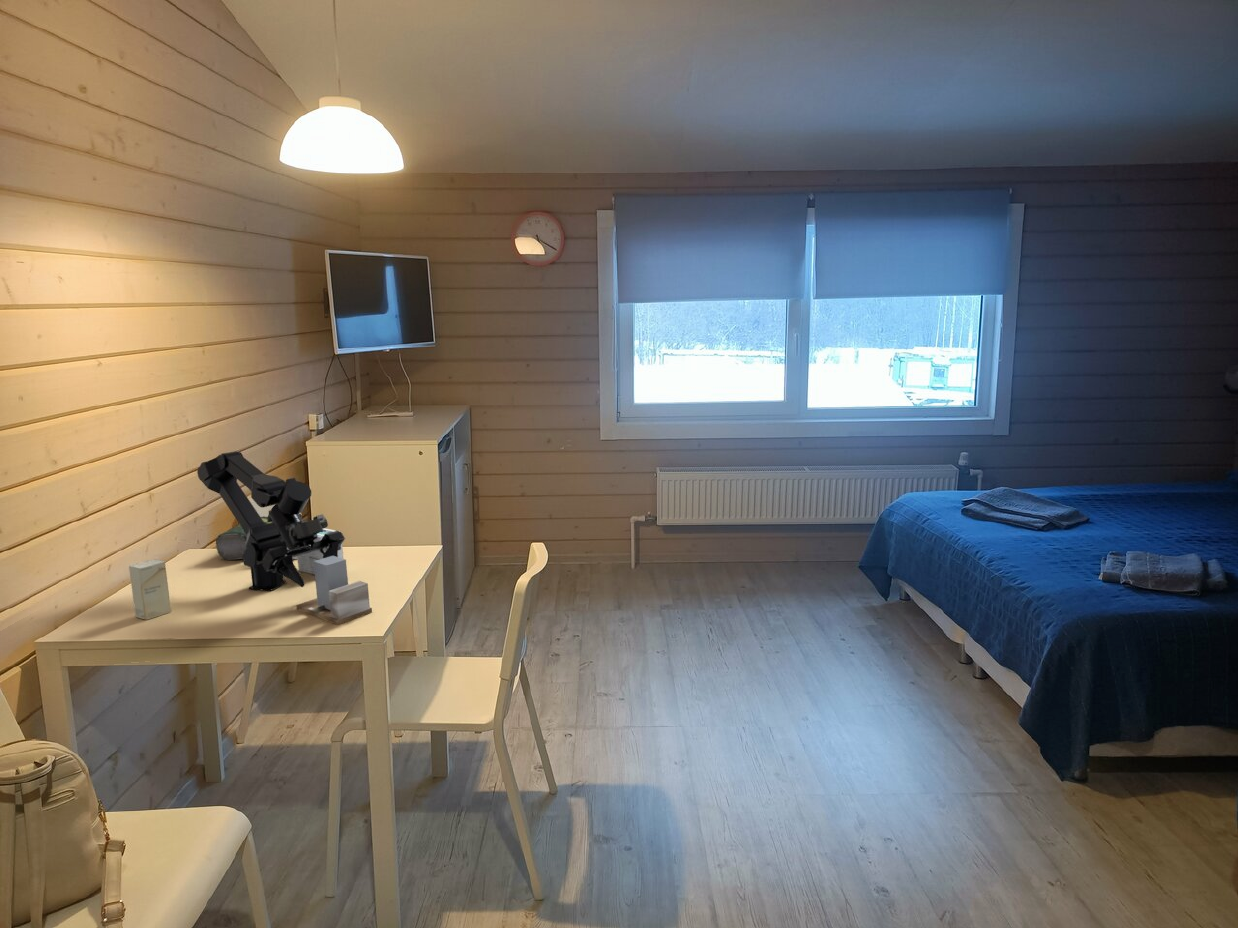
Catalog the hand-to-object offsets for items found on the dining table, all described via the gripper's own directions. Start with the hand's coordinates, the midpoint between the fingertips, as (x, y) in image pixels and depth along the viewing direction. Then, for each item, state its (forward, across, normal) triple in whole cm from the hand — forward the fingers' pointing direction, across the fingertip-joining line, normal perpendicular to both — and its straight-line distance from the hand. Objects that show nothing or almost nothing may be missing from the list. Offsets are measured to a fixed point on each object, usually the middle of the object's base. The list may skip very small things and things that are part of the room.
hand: (321, 580), depth 198 cm
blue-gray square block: (+7, -1, 0) cm, 7 cm away
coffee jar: (-34, +5, +38) cm, 51 cm away
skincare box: (-15, -25, +25) cm, 39 cm away
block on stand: (+7, 0, +2) cm, 8 cm away
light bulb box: (-12, +15, +22) cm, 29 cm away
